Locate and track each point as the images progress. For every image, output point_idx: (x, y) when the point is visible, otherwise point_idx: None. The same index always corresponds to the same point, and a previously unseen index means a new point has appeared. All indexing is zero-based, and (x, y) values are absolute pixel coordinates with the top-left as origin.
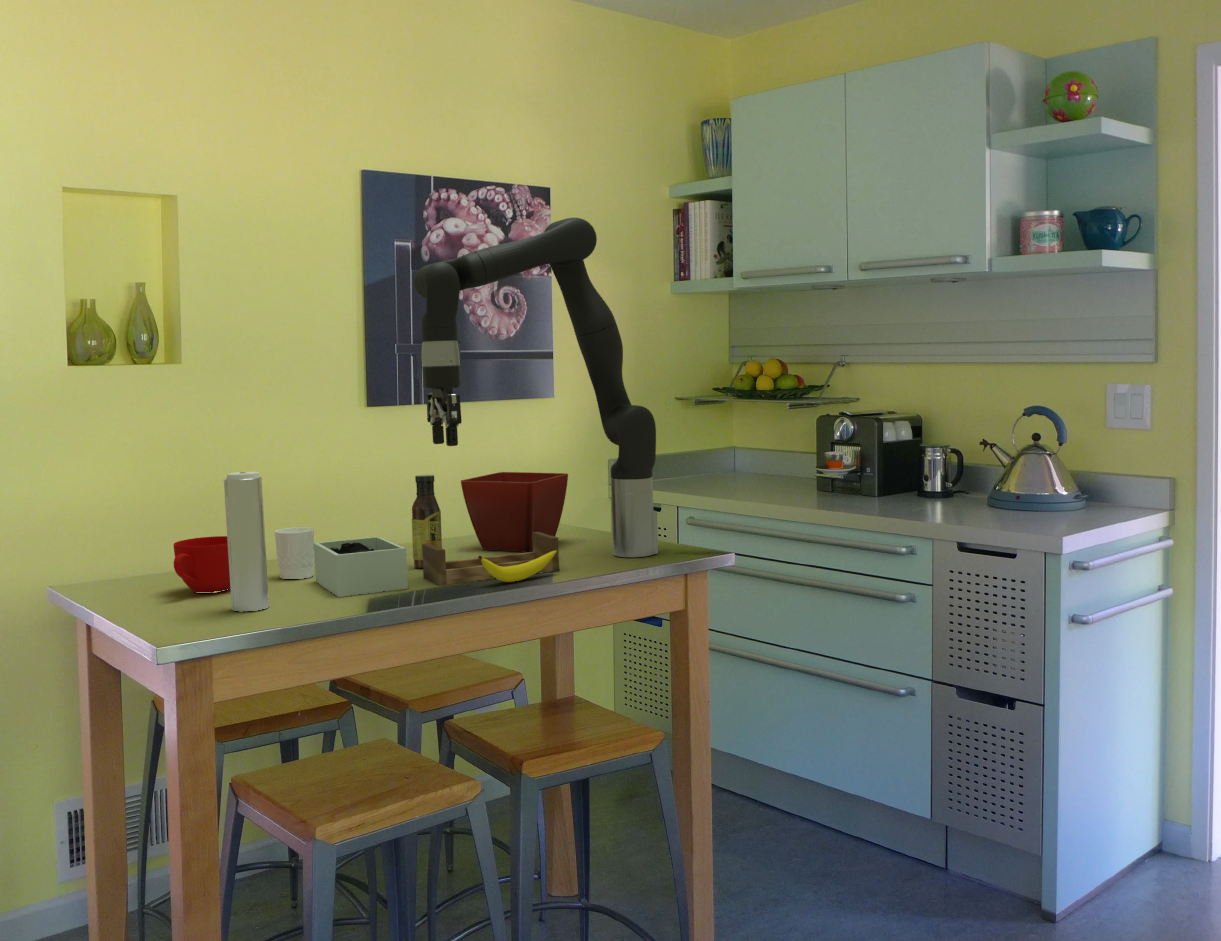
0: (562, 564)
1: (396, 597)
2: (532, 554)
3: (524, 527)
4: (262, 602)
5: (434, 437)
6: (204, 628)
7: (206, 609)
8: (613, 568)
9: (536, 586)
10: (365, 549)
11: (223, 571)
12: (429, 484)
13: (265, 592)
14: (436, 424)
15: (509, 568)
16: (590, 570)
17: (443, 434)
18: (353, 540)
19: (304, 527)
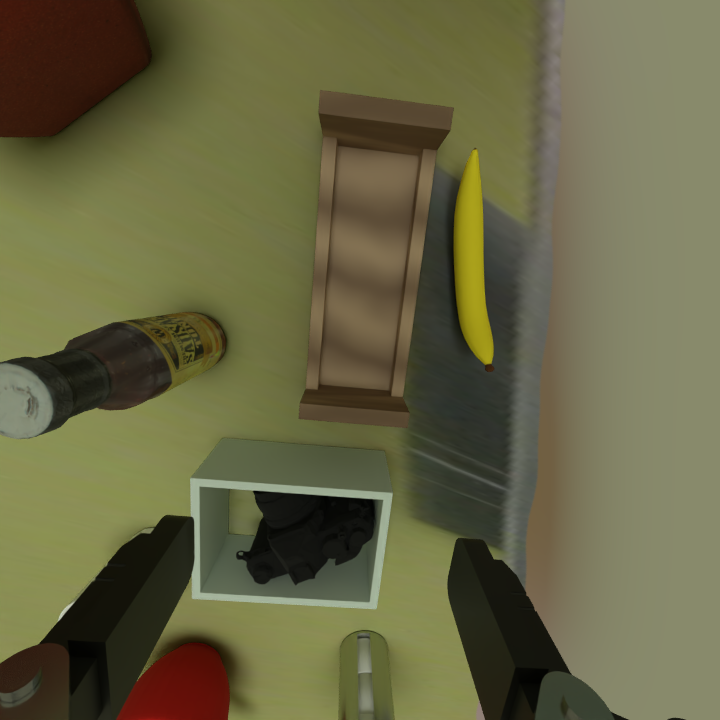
0: (366, 88)
1: (435, 487)
2: (336, 147)
3: (128, 28)
4: (386, 651)
5: (170, 609)
6: (437, 703)
7: (327, 685)
8: (495, 17)
9: (531, 270)
10: (327, 544)
11: (227, 693)
12: (78, 386)
13: (383, 660)
14: (86, 716)
15: (482, 297)
16: (476, 80)
17: (159, 564)
18: (201, 530)
19: (69, 606)
